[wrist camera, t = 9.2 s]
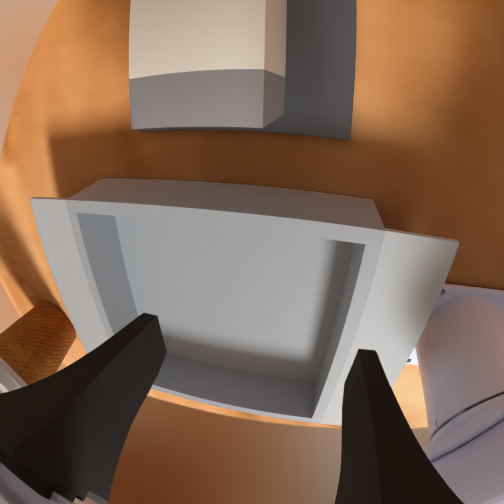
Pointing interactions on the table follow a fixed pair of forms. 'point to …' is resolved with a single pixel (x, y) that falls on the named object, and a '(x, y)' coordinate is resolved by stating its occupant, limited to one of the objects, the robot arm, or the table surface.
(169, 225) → the grey rimmed tray
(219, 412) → the table surface
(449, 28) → the table surface
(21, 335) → the disposable coffee cup
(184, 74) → the capped box
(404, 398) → the table surface
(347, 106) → the mat
